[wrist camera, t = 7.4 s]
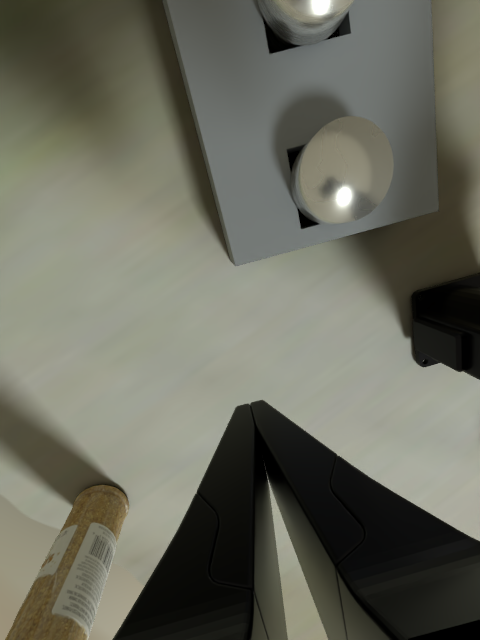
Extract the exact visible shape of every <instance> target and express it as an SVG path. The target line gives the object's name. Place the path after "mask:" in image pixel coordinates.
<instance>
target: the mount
mask: <svg viewBox="0 0 480 640" xmlns="http://www.w3.org/2000/svg"><path fill="white" fill-rule="evenodd" d="M162 2H163V5H164V9H165V13H166V17H167V21H168V24H169V28H170V32H171V36H172V40H173V43H174V47H175V51H176V55H177V59H178V62H179V66H180V70H181V74H182V78H183V81H184V85H185V89H186V93H187V97H188V100H189V104H190V108H191V112H192V116H193V119H194V123H195V127H196V131H197V135H198V138H199V142H200V146H201V150H202V154H203V158H204V161H205V165H206V169H207V173H208V177H209V180H210V184H211V188H212V192H213V196H214V199H215V203H216V207H217V211H218V215H219V218H220V222H221V226H222V230H223V234H224V237H225V241H226V245H227V249H228V253H229V256H230V260H231V262H232V263H233V264H234V265H235V266H239V265H242V264H246V263H250V262H253V261H257V260H261V259H264V258H268V257H272V256H275V255H279V254H283V253H286V252H290V251H294V250H297V249H301V248H305V247H308V246H312V245H316V244H319V243H323V242H327V241H330V240H334V239H338V238H341V237H345V236H349V235H352V234H356V233H360V232H363V231H367V230H371V229H374V228H378V227H382V226H385V225H389V224H393V223H396V222H400V221H404V220H407V219H411V218H415V217H418V216H422V215H426V214H429V213H433V212H437V211H439V200H438V173H437V145H436V118H435V90H434V62H433V35H432V7H431V0H355V1H354V2H353V4H352V6H351V7H350V9H349V11H348V12H347V14H346V16H345V18H344V19H343V21H342V22H341V24H340V26H339V32H340V36H339V37H335V38H331V39H327V40H323V41H321V42H319V43H316V44H313V45H308V46H300V47H296V48H292V49H288V50H284V51H280V52H276V53H272V54H269V50H268V44H267V39H266V33H265V28H264V22H263V17H262V13H261V10H260V7H259V4H258V1H257V0H162ZM347 116H356V117H362V118H365V119H367V120H369V121H371V122H373V123H374V124H376V125H377V126H378V127H379V128H380V129H381V130H382V131H383V133H384V134H385V135H386V137H387V139H388V141H389V143H390V146H391V149H392V153H393V163H394V167H393V176H392V180H391V184H390V187H389V189H388V191H387V193H386V195H385V197H384V199H383V200H382V201H381V203H380V204H379V205H378V206H377V207H376V208H375V209H374V210H373V211H372V212H371V213H369V214H368V215H367V216H365V217H363V218H361V219H359V220H356V221H352V222H346V223H340V224H333V225H324V224H319V223H315V224H311V225H308V226H304V227H300V221H299V216H298V210H297V205H296V203H295V201H294V199H293V196H292V192H291V172H290V166H289V161H288V155H287V154H288V153H292V152H296V151H300V150H302V148H303V147H304V146H305V145H306V144H307V143H308V142H309V141H310V140H311V139H312V138H313V137H314V136H315V134H316V133H317V132H318V131H319V130H320V129H322V128H323V127H324V126H325V125H327V124H328V123H330V122H332V121H333V120H336V119H338V118H341V117H347Z"/></svg>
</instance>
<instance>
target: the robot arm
mask: <svg viewBox="0 0 480 640" xmlns="http://www.w3.org/2000/svg"><path fill="white" fill-rule="evenodd" d="M420 295H421V298H420V299H418V298H419V296H420ZM412 311H413V333H414V347H415V354H416V363H417V364H418V365H420V366H421V367H427V366H431V365H434V364H438V363H442V364H444V365H446V366H448V367H450V368H452V369H454V370H456V371H458V372H462V371H463V372H465V373H467V374H469V375H471V376H473V377H475V378H477V379H479V380H480V273H478V274H474V275H471V276H467V277H464V278H460V279H457V280H453V281H449V282H446V283H442V284H439V285H435V286H432V287H428V288H424V289H421V290H417V291H415V292H414V293H413V295H412ZM424 359H425V360H424ZM423 360H424V361H423ZM262 456H263V457H262ZM263 460H264V461H263ZM264 464H265V465H264ZM265 468H266V469H265ZM266 472H267V474H266ZM267 476H268V478H267ZM268 480H269V483H270V486H271V488H272V491H273V494H274V496H275V499H276V502H277V504H278V507H279V510H280V512H281V515H282V518H283V520H284V523H285V526H286V528H287V531H288V534H289V536H290V539H291V542H292V544H293V547H294V549H295V552H296V555H297V557H298V560H299V563H300V565H301V568H302V571H303V573H304V576H305V579H306V581H307V584H308V587H309V589H310V592H311V595H312V597H313V600H314V603H315V605H316V608H317V610H318V613H319V616H320V618H321V621H322V624H323V626H324V629H325V632H326V634H327V637H328V640H480V541H478V540H476V539H474V538H472V537H470V536H468V535H466V534H464V533H463V532H461V531H459V530H457V529H455V528H454V527H452V526H450V525H449V524H447V523H445V522H444V521H442V520H440V519H438V518H437V517H435V516H433V515H432V514H430V513H428V512H427V511H425V510H423V509H421V508H420V507H418V506H416V505H415V504H413V503H411V502H410V501H408V500H406V499H404V498H403V497H401V496H399V495H398V494H396V493H394V492H393V491H391V490H389V489H388V488H386V487H384V486H383V485H381V484H380V483H378V482H376V481H375V480H373V479H372V478H370V477H368V476H367V475H365V474H364V473H363V472H361V471H360V470H358V469H357V468H355V467H354V466H352V465H351V464H350V463H348V462H347V461H346V460H344V459H343V458H341V457H340V456H337V454H336V453H334V452H333V451H332V450H330V449H329V448H328V447H326V446H325V445H324V444H322V443H321V442H319V441H318V440H317V439H315V438H314V437H313V436H311V435H310V434H309V433H307V432H306V431H304V430H303V429H302V428H300V427H299V426H298V425H296V424H295V423H294V422H292V421H291V420H290V419H288V418H287V417H285V416H284V415H283V414H281V413H280V412H279V411H277V410H276V409H275V408H273V407H272V406H270V405H269V404H268V403H266V402H265V401H264V400H259V401H255V402H252V403H251V404H250V405H249V404H244V405H240V406H237V407H236V408H235V411H234V413H233V415H232V417H231V419H230V421H229V423H228V426H227V428H226V430H225V432H224V434H223V436H222V438H221V441H220V443H219V445H218V447H217V449H216V451H215V453H214V456H213V458H212V460H211V462H210V464H209V466H208V468H207V470H206V473H205V475H204V477H203V479H202V481H201V483H200V485H199V488H198V490H197V494H195V496H194V498H193V500H192V502H191V504H190V506H189V509H188V511H187V512H186V514H185V516H184V518H183V520H182V522H181V524H180V526H179V528H178V530H177V532H176V534H175V536H174V537H173V539H172V541H171V543H170V544H169V546H168V548H167V550H166V551H165V553H164V555H163V557H162V558H161V560H160V562H159V563H158V565H157V567H156V568H155V570H154V572H153V573H152V575H151V577H150V578H149V580H148V582H147V583H146V585H145V587H144V588H143V590H142V592H141V594H140V595H139V597H138V599H137V600H136V602H135V604H134V605H133V607H132V609H131V610H130V612H129V614H128V615H127V617H126V619H125V620H124V622H123V624H122V625H121V627H120V628H119V630H118V632H117V633H116V635H115V637H114V638H113V640H288V638H287V630H286V622H285V613H284V605H283V597H282V589H281V581H280V573H279V565H278V556H277V548H276V540H275V532H274V524H273V516H272V507H271V499H270V491H269V484H268Z"/></svg>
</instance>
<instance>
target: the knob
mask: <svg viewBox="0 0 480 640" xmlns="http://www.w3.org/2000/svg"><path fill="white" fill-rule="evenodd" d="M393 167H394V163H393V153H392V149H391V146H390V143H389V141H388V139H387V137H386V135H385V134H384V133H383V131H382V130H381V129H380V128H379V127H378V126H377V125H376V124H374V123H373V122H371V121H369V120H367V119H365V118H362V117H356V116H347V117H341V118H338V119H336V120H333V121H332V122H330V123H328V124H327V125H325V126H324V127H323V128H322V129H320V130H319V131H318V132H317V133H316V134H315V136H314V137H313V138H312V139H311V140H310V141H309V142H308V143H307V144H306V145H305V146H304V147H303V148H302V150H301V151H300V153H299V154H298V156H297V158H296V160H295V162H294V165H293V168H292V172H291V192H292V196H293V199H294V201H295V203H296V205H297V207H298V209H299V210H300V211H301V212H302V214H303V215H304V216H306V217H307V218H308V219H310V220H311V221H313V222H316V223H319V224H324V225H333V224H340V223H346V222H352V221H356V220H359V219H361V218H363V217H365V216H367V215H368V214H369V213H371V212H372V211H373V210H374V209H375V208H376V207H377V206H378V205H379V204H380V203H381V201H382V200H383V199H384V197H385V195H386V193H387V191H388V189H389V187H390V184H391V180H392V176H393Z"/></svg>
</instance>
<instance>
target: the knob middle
mask: <svg viewBox="0 0 480 640" xmlns="http://www.w3.org/2000/svg"><path fill="white" fill-rule="evenodd" d="M257 1H258V4H259V7H260V10H261V13H262V15H263V17H264V19H265V20H266V26H265V33H266V39H267V44H268V49H269V50H270V52H271V53H276V52H280V51H284V50H288V49H292V48H296V47H300V46H308V45H313V44H316V43H319V42H321V41H323V40H325V39H326V38H328V37H329V36H330V35H331V34H333V33H334V32H335V31H336V29H337V28H338V27H339V26H340V24H341V22H342V21H343V19H344V18H345V16H346V14H347V12H348V11H349V9H350V7H351V6H352V4H353V2H354V1H355V0H257Z"/></svg>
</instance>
